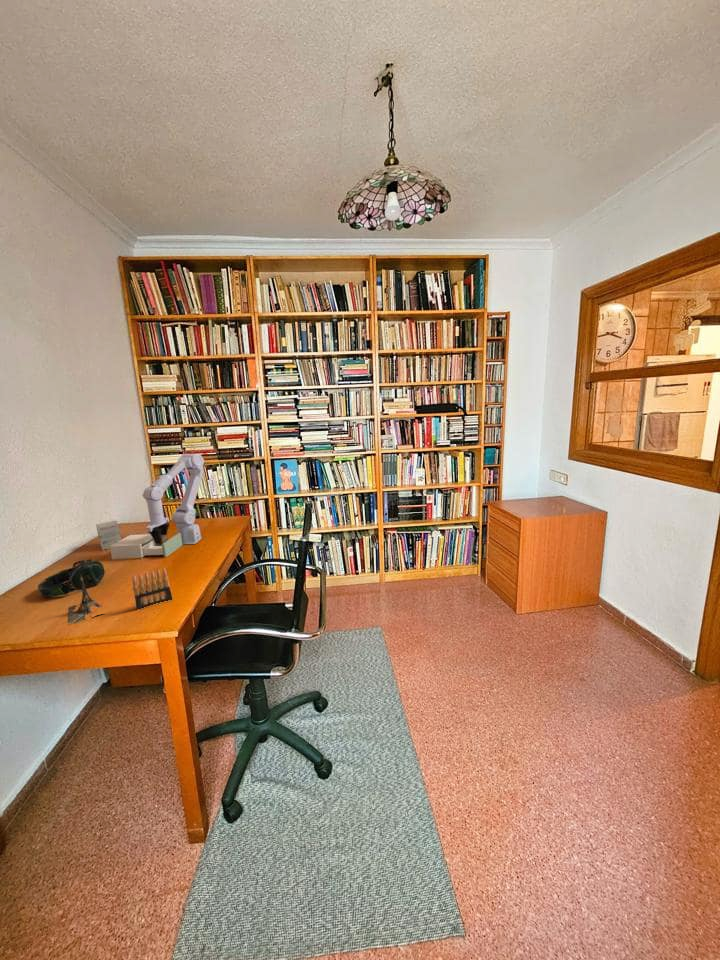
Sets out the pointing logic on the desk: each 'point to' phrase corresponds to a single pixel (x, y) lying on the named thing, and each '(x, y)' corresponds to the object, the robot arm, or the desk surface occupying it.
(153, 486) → the robot arm
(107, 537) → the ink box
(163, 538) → the walnut block
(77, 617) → the eiffel tower figurine
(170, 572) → the desk surface
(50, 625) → the desk surface
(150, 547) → the drawer
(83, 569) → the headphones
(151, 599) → the ammunition clip
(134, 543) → the organizer
